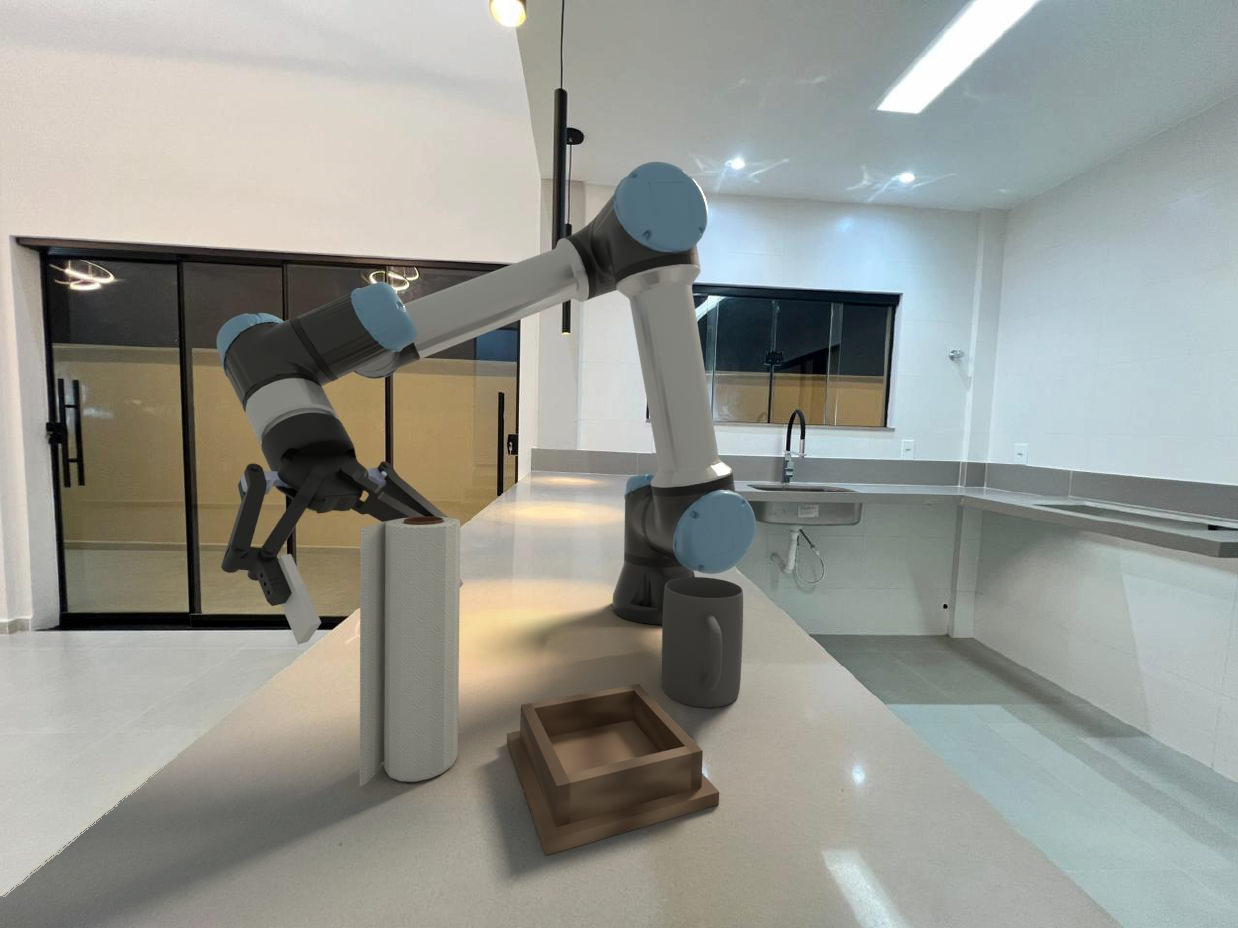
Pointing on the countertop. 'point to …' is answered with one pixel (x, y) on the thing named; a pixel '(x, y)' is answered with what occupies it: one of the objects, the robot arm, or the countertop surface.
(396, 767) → the paper towel roll
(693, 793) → the wooden tray
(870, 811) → the countertop surface
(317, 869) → the countertop surface
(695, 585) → the mug
